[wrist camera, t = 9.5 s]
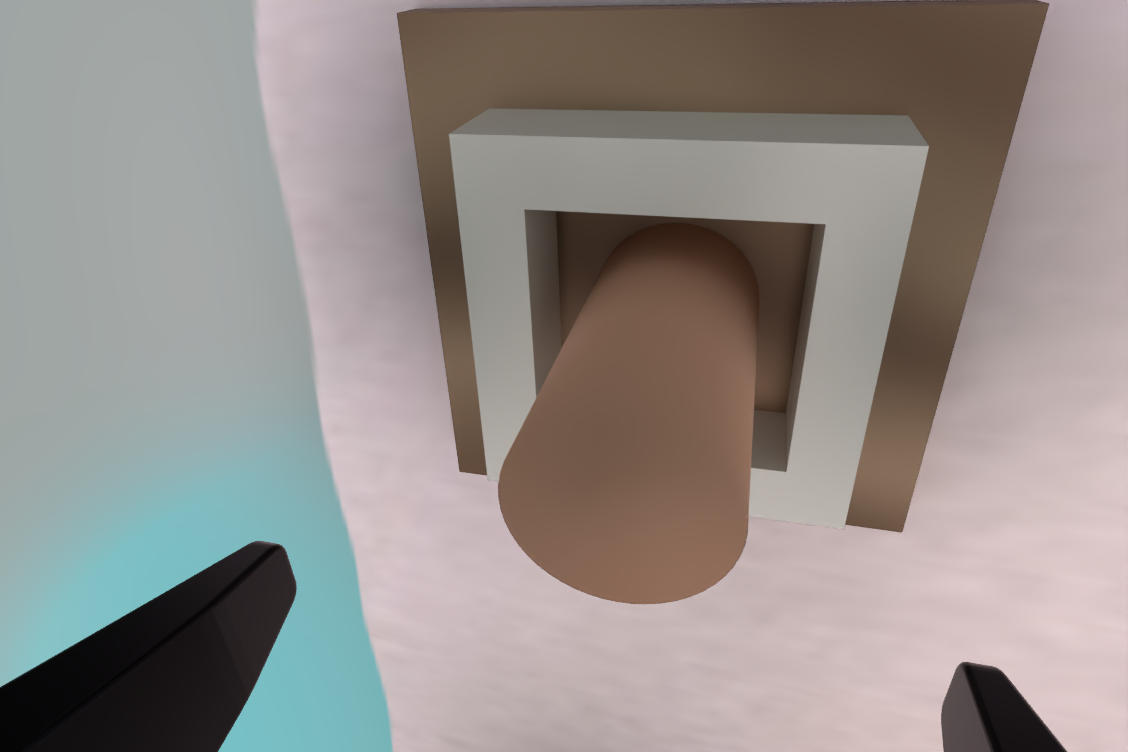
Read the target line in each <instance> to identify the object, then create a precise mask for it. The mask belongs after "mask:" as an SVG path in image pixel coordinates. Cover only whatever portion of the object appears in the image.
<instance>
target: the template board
mask: <svg viewBox="0 0 1128 752" xmlns="http://www.w3.org/2000/svg"><path fill="white" fill-rule="evenodd" d="M1048 6H1049V4H1048V3H1045V2H1041V1H1038V0H952V1H889V2H827V3H764V4H702V5H639V6H577V7H514V8H451V9H414V10H409V11H405V12H400V13H397V18H398V25H399V33H400V40H401V47H402V55H403V62H404V69H405V76H406V84H407V91H408V98H409V106H410V113H411V120H412V128H413V135H414V142H415V149H416V157H417V164H418V171H419V179H420V186H421V193H422V201H423V208H424V215H425V222H426V230H427V237H428V244H429V252H430V259H431V266H432V274H433V281H434V288H435V295H436V303H437V310H438V317H439V325H440V332H441V339H442V347H443V354H444V361H445V368H446V376H447V383H448V390H449V398H450V405H451V412H452V420H453V427H454V434H455V442H456V449H457V456H458V463H459V471H460V472H466V473H473V474H481V475H487V478H488V480H490V481H497V482H499V476H500V471H501V468H502V465H503V462H504V460H505V458H506V456H507V454H508V452H509V450H510V448H511V446H512V444H513V442H514V441H515V439H516V437H517V435H518V433H519V431H520V429H521V427H522V425H523V423H524V421H525V419H526V417H527V415H528V413H529V411H530V409H531V407H532V405H533V403H534V401H535V400H536V398H537V396H538V394H539V392H540V390H541V388H542V386H543V384H544V382H545V380H546V378H547V376H548V374H549V372H550V370H551V368H552V366H553V364H554V362H555V360H556V359H557V357H558V355H559V353H560V351H561V349H562V347H563V345H564V343H565V341H566V339H567V337H568V335H569V333H570V331H571V329H572V327H573V325H574V323H575V321H576V319H577V318H578V316H579V314H580V312H581V310H582V308H583V306H584V304H585V302H586V300H587V298H588V296H589V294H590V292H591V290H592V288H593V286H594V284H595V282H596V280H597V278H598V277H599V275H600V273H601V271H602V269H603V267H604V265H605V263H606V261H607V259H608V258H609V256H610V255H611V253H612V252H613V251H614V250H615V249H616V248H617V247H618V245H619V244H620V243H622V242H623V241H624V240H625V239H627V238H628V237H629V236H631V235H633V234H635V233H636V232H638V231H640V230H643V229H645V228H648V227H651V226H655V225H658V224H666V223H686V224H693V225H697V226H701V227H704V228H707V229H710V230H712V231H714V232H716V233H718V234H720V235H722V236H723V237H725V238H726V239H728V240H729V241H730V242H732V243H733V244H734V245H735V246H736V247H737V248H738V249H739V250H740V251H741V252H742V253H743V255H744V256H745V257H746V258H747V260H748V262H749V263H750V265H751V267H752V269H753V271H754V273H755V276H756V279H757V283H758V287H759V296H760V297H759V319H758V338H757V358H756V378H755V398H754V417H753V437H752V457H751V477H750V496H749V517H756V518H763V519H771V520H778V521H785V522H792V523H799V524H807V525H814V526H821V527H828V528H835V529H843V530H844V527H845V525H852V526H859V527H866V528H874V529H881V530H888V531H895V532H902V531H903V527H904V524H905V520H906V516H907V513H908V509H909V506H910V502H911V498H912V495H913V491H914V488H915V484H916V480H917V477H918V473H919V470H920V466H921V462H922V459H923V455H924V452H925V448H926V444H927V441H928V437H929V434H930V430H931V427H932V423H933V419H934V416H935V412H936V409H937V405H938V401H939V398H940V394H941V391H942V387H943V383H944V380H945V376H946V373H947V369H948V365H949V362H950V358H951V355H952V351H953V347H954V344H955V340H956V337H957V333H958V329H959V326H960V322H961V319H962V315H963V312H964V308H965V304H966V301H967V297H968V294H969V290H970V286H971V283H972V279H973V276H974V272H975V268H976V265H977V261H978V258H979V254H980V250H981V247H982V243H983V240H984V236H985V232H986V229H987V225H988V222H989V218H990V215H991V211H992V207H993V204H994V200H995V197H996V193H997V189H998V186H999V182H1000V179H1001V175H1002V171H1003V168H1004V164H1005V161H1006V157H1007V153H1008V150H1009V146H1010V143H1011V139H1012V135H1013V132H1014V128H1015V125H1016V121H1017V117H1018V114H1019V110H1020V107H1021V103H1022V100H1023V96H1024V92H1025V89H1026V85H1027V82H1028V78H1029V74H1030V71H1031V67H1032V64H1033V60H1034V56H1035V53H1036V49H1037V46H1038V42H1039V38H1040V35H1041V31H1042V28H1043V24H1044V20H1045V17H1046V13H1047V10H1048Z"/></svg>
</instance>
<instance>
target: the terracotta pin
mask: <svg viewBox="0 0 1128 752" xmlns="http://www.w3.org/2000/svg"><path fill="white" fill-rule="evenodd" d="M759 297H760V296H759V287H758V283H757V279H756V276H755V273H754V271H753V269H752V267H751V265H750V263H749V262H748V260H747V258H746V257H745V256H744V255H743V253H742V252H741V251H740V250H739V249H738V248H737V247H736V246H735V245H734V244H733V243H732V242H730V241H729V240H728V239H726V238H725V237H723V236H722V235H720V234H718V233H716V232H714V231H712V230H710V229H707V228H704V227H701V226H697V225H693V224H686V223H666V224H658V225H655V226H651V227H648V228H645V229H643V230H640V231H638V232H636V233H635V234H633V235H631V236H629V237H628V238H627V239H625V240H624V241H623V242H622V243H620V244H619V245H618V247H617V248H616V249H615V250H614V251H613V252H612V253H611V255H610V256H609V258H608V259H607V261H606V263H605V265H604V267H603V269H602V271H601V273H600V275H599V277H598V278H597V280H596V282H595V284H594V286H593V288H592V290H591V292H590V294H589V296H588V298H587V300H586V302H585V304H584V306H583V308H582V310H581V312H580V314H579V316H578V318H577V319H576V321H575V323H574V325H573V327H572V329H571V331H570V333H569V335H568V337H567V339H566V341H565V343H564V345H563V347H562V349H561V351H560V353H559V355H558V357H557V359H556V360H555V362H554V364H553V366H552V368H551V370H550V372H549V374H548V376H547V378H546V380H545V382H544V384H543V386H542V388H541V390H540V392H539V394H538V396H537V398H536V400H535V401H534V403H533V405H532V407H531V409H530V411H529V413H528V415H527V417H526V419H525V421H524V423H523V425H522V427H521V429H520V431H519V433H518V435H517V437H516V439H515V441H514V442H513V444H512V446H511V448H510V450H509V452H508V454H507V456H506V458H505V460H504V462H503V465H502V468H501V471H500V476H499V483H498V497H499V503H500V508H501V512H502V515H503V518H504V521H505V523H506V525H507V527H508V529H509V531H510V533H511V534H512V536H513V537H514V539H515V540H516V542H517V543H518V545H519V546H520V547H521V548H522V550H523V551H524V552H525V553H526V554H527V555H528V556H529V557H530V558H531V559H532V560H533V561H534V562H535V563H536V564H537V565H538V566H540V567H541V568H542V569H543V570H545V571H546V572H547V573H549V574H550V575H552V576H553V577H555V578H556V579H558V580H559V581H561V582H563V583H565V584H567V585H569V586H571V587H573V588H575V589H577V590H579V591H582V592H584V593H587V594H590V595H593V596H596V597H599V598H602V599H607V600H611V601H616V602H623V603H631V604H657V603H666V602H672V601H677V600H681V599H684V598H688V597H691V596H693V595H696V594H698V593H700V592H703V591H705V590H706V589H708V588H710V587H711V586H713V585H715V584H716V583H717V582H718V581H720V580H721V579H722V578H723V577H725V576H726V574H727V573H728V572H729V571H730V570H731V569H732V568H733V567H734V565H735V564H736V562H737V561H738V559H739V557H740V556H741V553H742V551H743V548H744V546H745V542H746V538H747V533H748V516H749V496H750V477H751V457H752V437H753V417H754V398H755V378H756V358H757V338H758V319H759Z"/></svg>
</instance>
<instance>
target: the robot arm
mask: <svg viewBox="0 0 1128 752" xmlns="http://www.w3.org/2000/svg"><path fill="white" fill-rule="evenodd" d="M295 595H296V580H295V577H294V574H293V571H292V568H291V565H290V562H289V559H288V555H287V552H286V550H285V548H284V547H283V546H282V545H280V544H275V543H269V542H263V541H255V542H252V543H250V544H248V545H246V546H245V547H243V548H241V549H239V550H238V551H236V552H234V553H232V554H231V555H229V556H227V557H225V558H224V559H222V560H220V561H218V562H217V563H215V564H213V565H212V566H210V567H208V568H206V569H205V570H203V571H201V572H199V573H198V574H196V575H194V576H192V577H191V578H189V579H187V580H186V581H184V582H182V583H180V584H179V585H177V586H175V587H174V588H172V589H170V590H169V591H166V592H165V593H163V594H161V595H160V596H158V597H156V598H154V599H153V600H151V601H149V602H147V603H146V604H144V605H142V606H140V607H139V608H137V609H135V610H133V611H132V612H130V613H128V614H126V615H125V616H123V617H121V618H120V619H118V620H116V621H114V622H113V623H111V624H109V625H107V626H106V627H104V628H103V629H101V630H99V631H97V632H95V633H94V634H92V635H90V636H88V637H87V638H85V639H83V640H81V641H80V642H78V643H76V644H74V645H73V646H71V647H69V648H68V649H66V650H64V651H62V652H61V653H59V654H57V655H55V656H54V657H52V658H50V659H48V660H47V661H45V662H43V663H42V664H40V665H38V666H36V667H34V668H33V669H31V670H29V671H28V672H26V673H24V674H22V675H21V676H19V677H17V678H15V679H14V680H12V681H10V682H8V683H7V684H5V685H3V686H1V687H0V752H218V751H219V749H220V747H221V745H222V744H223V742H224V740H225V739H226V737H227V735H228V733H229V732H230V730H231V728H232V727H233V725H234V723H235V721H236V720H237V718H238V716H239V715H240V713H241V711H242V709H243V707H244V705H245V703H246V702H247V700H248V698H249V696H250V694H251V692H252V690H253V688H254V686H255V684H256V682H257V680H258V678H259V676H260V673H261V671H262V669H263V667H264V665H265V663H266V661H267V658H268V656H269V654H270V652H271V650H272V647H273V645H274V643H275V641H276V639H277V636H278V634H279V632H280V630H281V628H282V625H283V623H284V621H285V619H286V617H287V615H288V613H289V610H290V608H291V606H292V604H293V601H294V598H295ZM941 725H942V737H943V748H944V752H1067V751H1066V750H1065V748H1064V747H1063V746H1062V745H1061V743H1060V742H1059V741H1058V740H1057V738H1056V737H1055V736H1054V735H1053V733H1052V732H1051V731H1050V730H1049V728H1048V727H1047V726H1046V725H1045V723H1044V722H1043V721H1042V720H1041V718H1040V717H1039V716H1038V715H1037V714H1036V712H1035V711H1034V710H1033V709H1032V707H1031V706H1030V705H1029V704H1028V702H1027V701H1026V700H1025V699H1024V697H1023V696H1022V695H1021V694H1020V692H1019V691H1018V690H1017V689H1016V687H1015V686H1014V685H1013V684H1012V682H1011V681H1010V680H1009V679H1008V677H1007V676H1006V675H1005V674H1004V673H1003V672H1002V671H1001V670H999V669H998V668H996V667H992V666H987V665H981V664H975V663H970V662H962V663H960V664H959V665H958V667H957V668H956V671H955V673H954V676H953V678H952V681H951V684H950V686H949V689H948V692H947V694H946V697H945V699H944V702H943V706H942V714H941Z"/></svg>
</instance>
